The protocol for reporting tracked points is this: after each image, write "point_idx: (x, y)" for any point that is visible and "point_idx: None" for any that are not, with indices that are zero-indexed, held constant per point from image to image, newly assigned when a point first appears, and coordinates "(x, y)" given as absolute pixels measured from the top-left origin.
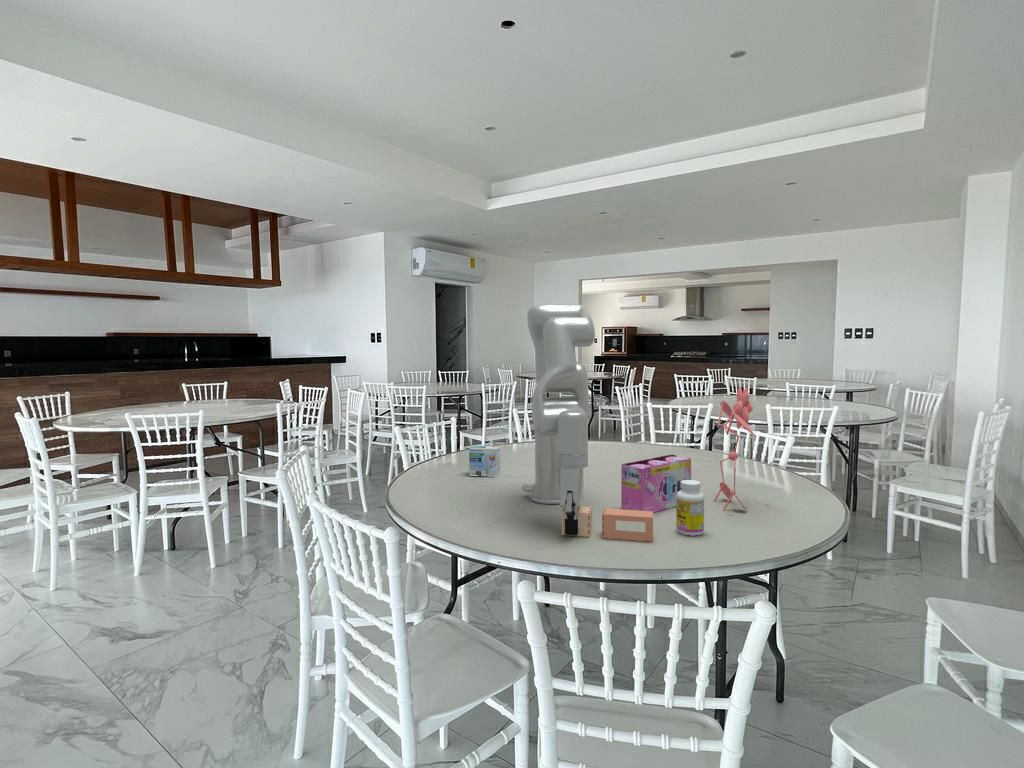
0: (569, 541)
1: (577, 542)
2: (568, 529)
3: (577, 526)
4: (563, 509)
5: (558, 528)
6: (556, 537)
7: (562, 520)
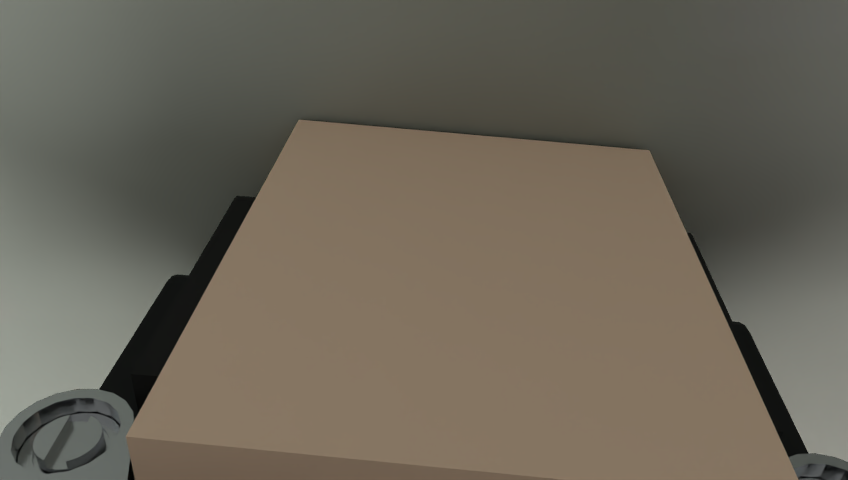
0: (64, 244)
1: (73, 336)
2: (166, 302)
3: None
4: (339, 477)
5: (662, 28)
6: (158, 40)
7: (221, 280)
